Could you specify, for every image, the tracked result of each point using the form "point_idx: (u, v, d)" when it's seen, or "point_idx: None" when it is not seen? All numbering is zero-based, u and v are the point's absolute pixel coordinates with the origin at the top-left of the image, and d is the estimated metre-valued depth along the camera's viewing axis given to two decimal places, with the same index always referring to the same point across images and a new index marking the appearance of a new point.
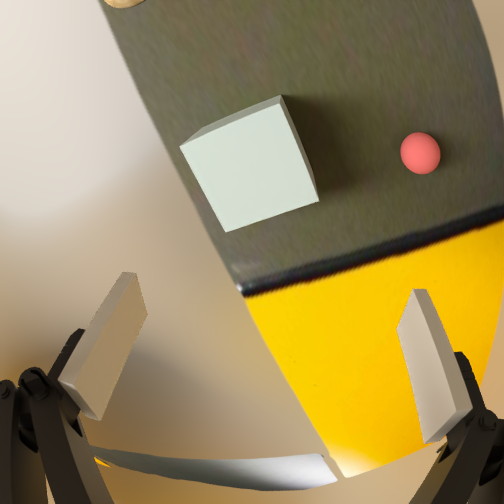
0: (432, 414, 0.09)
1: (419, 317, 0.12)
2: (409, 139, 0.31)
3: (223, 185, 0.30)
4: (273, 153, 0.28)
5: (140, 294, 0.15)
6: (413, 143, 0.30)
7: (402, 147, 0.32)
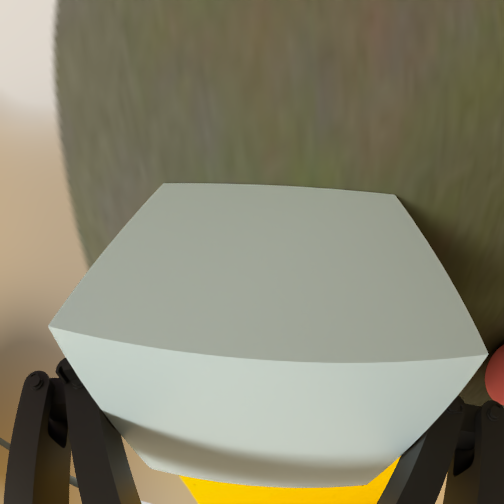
0: None
1: None
2: None
3: (171, 441, 0.09)
4: (353, 442, 0.08)
5: None
6: None
7: (503, 365, 0.15)
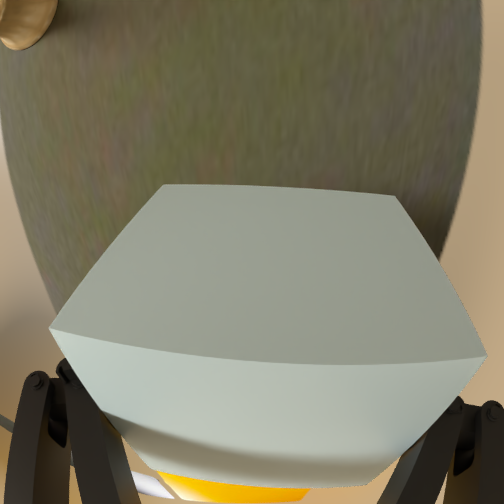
0: None
1: None
2: None
3: (172, 442, 0.09)
4: (352, 443, 0.08)
5: None
6: None
7: None
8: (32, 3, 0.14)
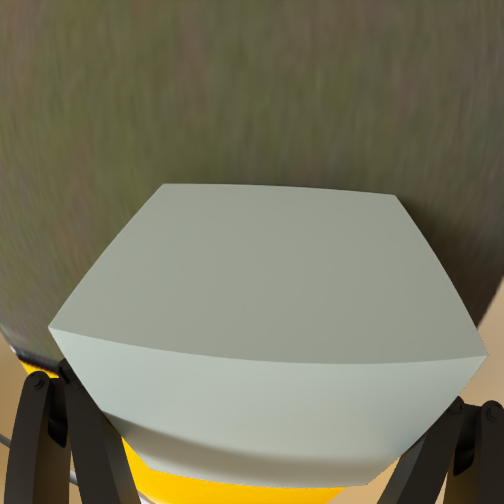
0: None
1: None
2: None
3: (171, 442, 0.09)
4: (353, 443, 0.08)
5: None
6: None
7: None
8: None
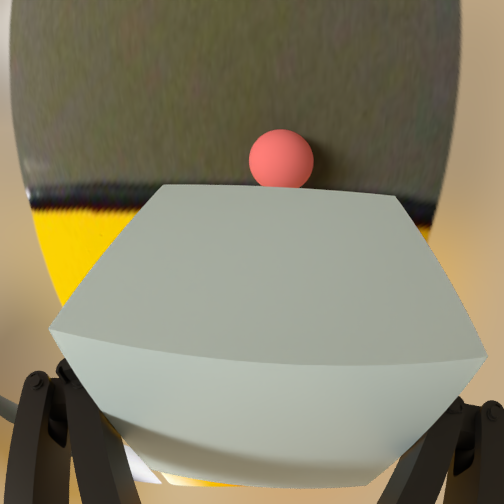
0: None
1: None
2: None
3: (172, 443, 0.09)
4: (352, 444, 0.08)
5: None
6: None
7: None
8: None
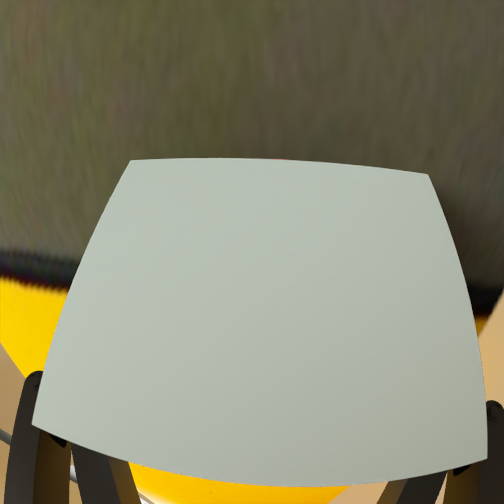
0: None
1: None
2: None
3: None
4: None
5: None
6: None
7: None
8: None
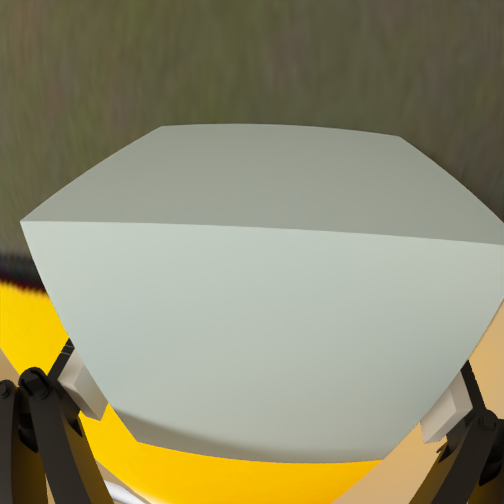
0: (432, 414, 0.09)
1: None
2: None
3: (157, 393, 0.08)
4: (375, 386, 0.07)
5: None
6: None
7: None
8: None
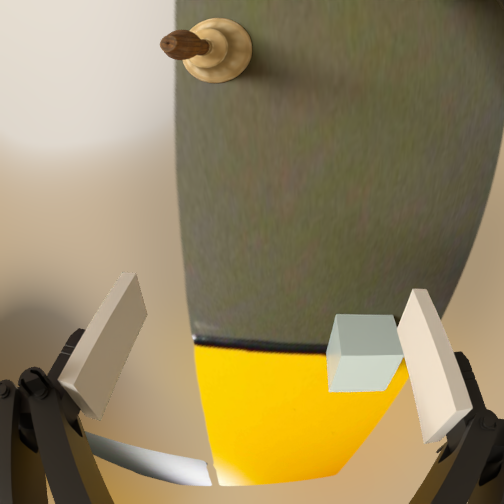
0: (432, 414, 0.09)
1: (419, 317, 0.12)
2: None
3: (347, 376, 0.45)
4: (383, 371, 0.44)
5: (140, 294, 0.15)
6: None
7: None
8: (236, 51, 0.29)
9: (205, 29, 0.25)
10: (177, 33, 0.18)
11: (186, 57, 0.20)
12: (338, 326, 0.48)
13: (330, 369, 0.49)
